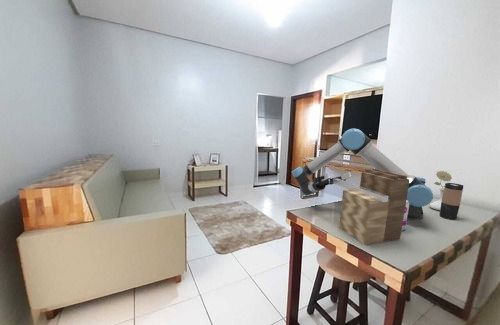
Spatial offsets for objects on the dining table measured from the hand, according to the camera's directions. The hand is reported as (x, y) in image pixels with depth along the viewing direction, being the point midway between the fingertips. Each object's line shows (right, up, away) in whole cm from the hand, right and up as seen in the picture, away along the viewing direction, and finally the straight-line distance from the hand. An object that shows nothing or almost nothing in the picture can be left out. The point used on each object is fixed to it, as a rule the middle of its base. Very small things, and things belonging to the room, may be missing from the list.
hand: (339, 174), depth 108 cm
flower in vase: (+75, -24, +25) cm, 83 cm away
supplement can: (+27, -27, -3) cm, 38 cm away
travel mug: (+68, -26, +12) cm, 74 cm away
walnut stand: (+9, -27, -10) cm, 30 cm away
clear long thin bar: (+3, -7, -10) cm, 13 cm away
